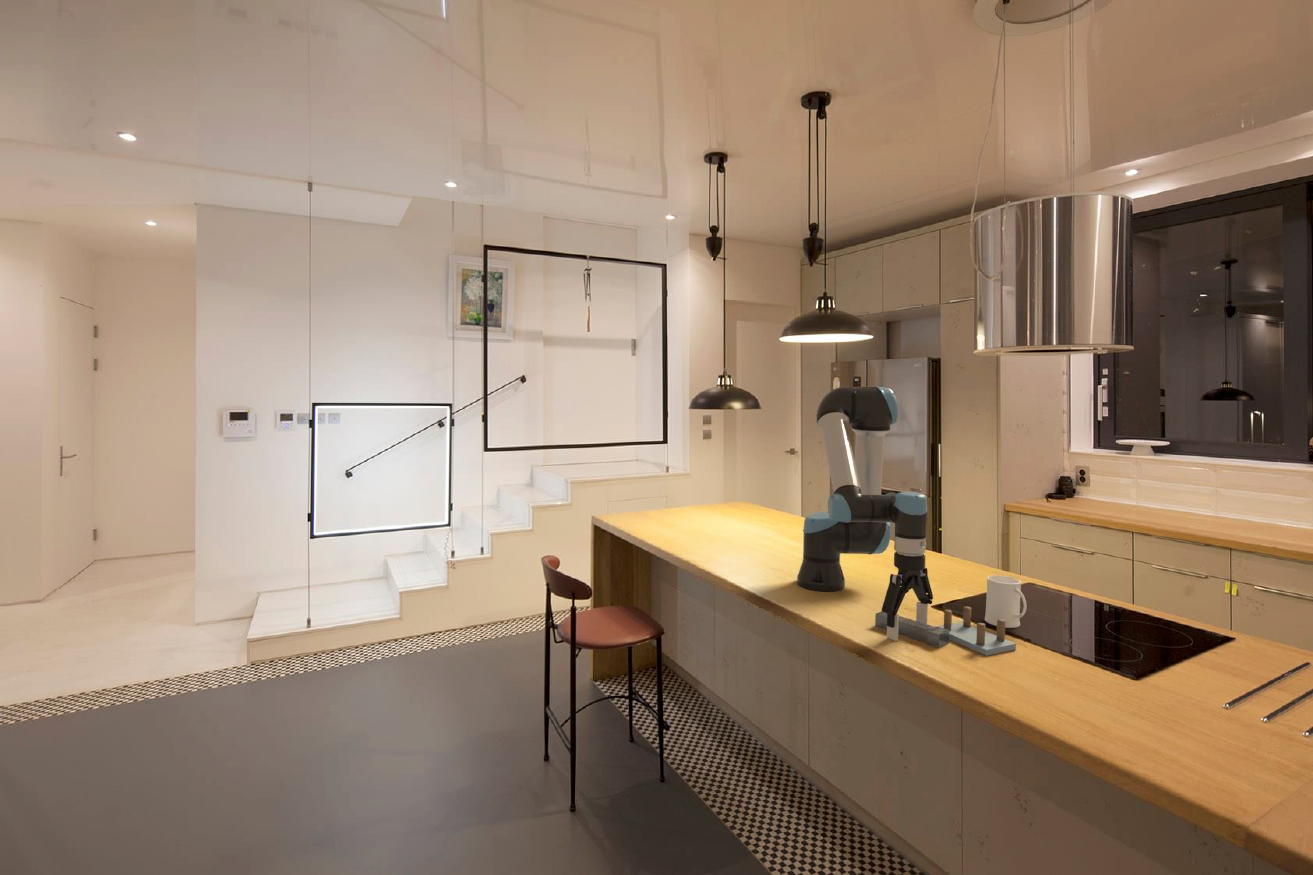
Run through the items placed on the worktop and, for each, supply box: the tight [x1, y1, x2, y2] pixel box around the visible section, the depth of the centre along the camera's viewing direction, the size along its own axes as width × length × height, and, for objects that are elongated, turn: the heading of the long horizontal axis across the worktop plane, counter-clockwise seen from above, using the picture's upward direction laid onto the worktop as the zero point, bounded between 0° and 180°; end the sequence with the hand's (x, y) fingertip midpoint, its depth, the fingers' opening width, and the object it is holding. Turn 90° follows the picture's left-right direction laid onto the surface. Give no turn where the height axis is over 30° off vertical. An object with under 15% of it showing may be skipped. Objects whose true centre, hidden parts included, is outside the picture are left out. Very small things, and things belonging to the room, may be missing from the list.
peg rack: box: [934, 606, 1017, 657], centre depth 159 cm, size 16×10×6 cm, turn 22°
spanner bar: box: [874, 610, 950, 649], centre depth 163 cm, size 18×5×4 cm, turn 39°
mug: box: [984, 574, 1028, 629], centre depth 170 cm, size 12×8×12 cm
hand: (907, 633), depth 163 cm, fingers open, 13 cm apart
